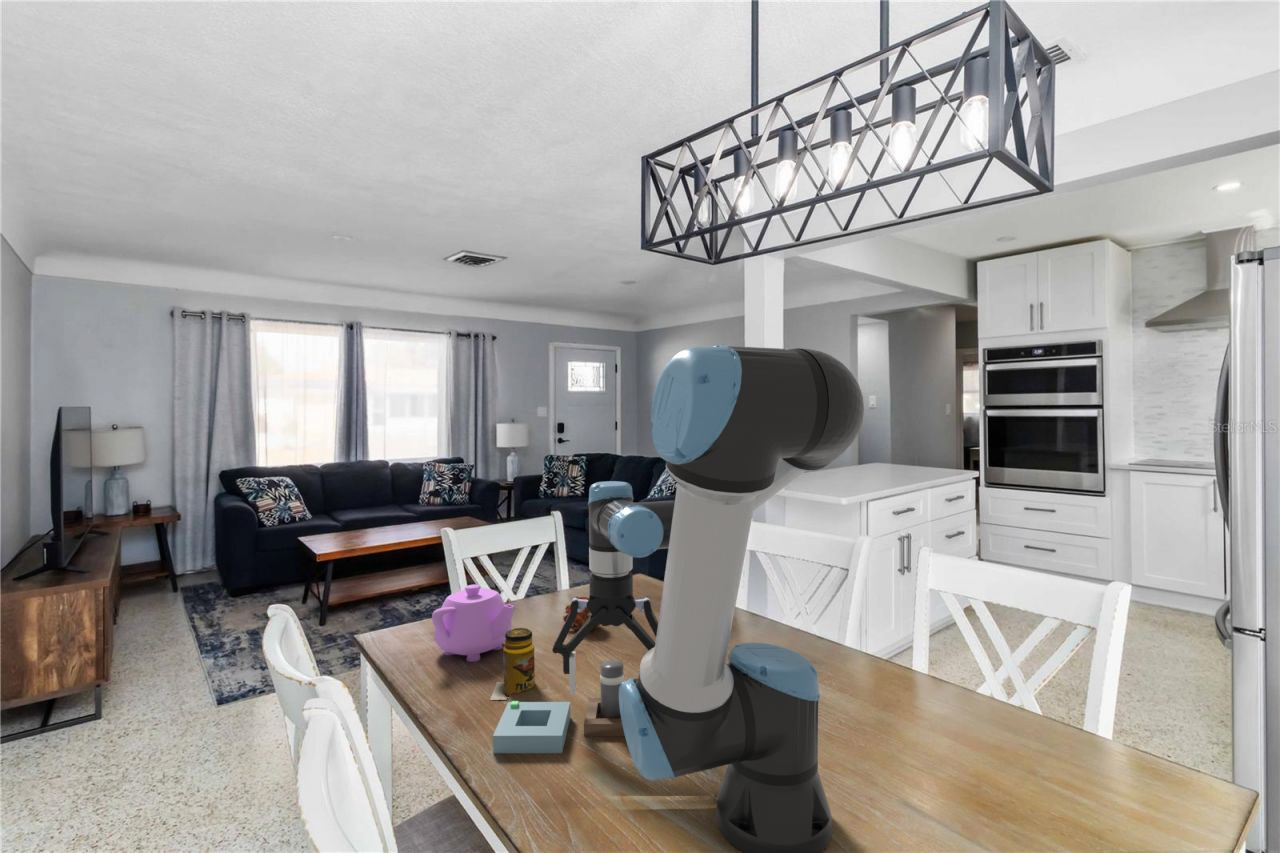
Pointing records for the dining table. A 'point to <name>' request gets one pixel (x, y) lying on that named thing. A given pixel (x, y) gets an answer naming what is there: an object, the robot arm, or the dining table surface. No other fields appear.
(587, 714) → the wooden square frame
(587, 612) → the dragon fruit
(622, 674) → the plug
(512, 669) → the condiment
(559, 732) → the port
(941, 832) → the dining table surface
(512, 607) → the teapot
